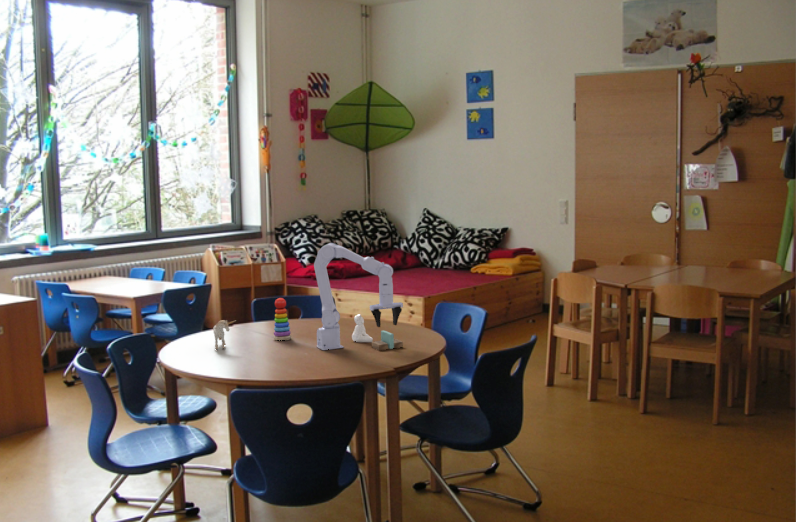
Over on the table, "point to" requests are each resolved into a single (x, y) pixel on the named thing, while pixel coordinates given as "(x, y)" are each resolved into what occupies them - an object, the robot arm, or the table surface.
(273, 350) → the table surface
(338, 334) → the robot arm
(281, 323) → the stacking toy
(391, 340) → the teal rectangular block
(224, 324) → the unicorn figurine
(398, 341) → the slot block
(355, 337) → the sitting furry creature
